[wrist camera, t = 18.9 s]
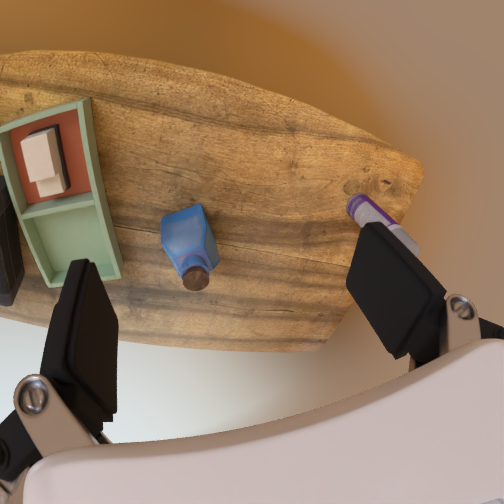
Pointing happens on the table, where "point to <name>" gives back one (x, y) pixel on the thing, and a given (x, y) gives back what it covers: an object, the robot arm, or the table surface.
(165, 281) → the table surface
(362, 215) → the container
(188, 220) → the perfume bottle
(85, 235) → the tray
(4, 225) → the cash box
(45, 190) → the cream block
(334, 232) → the table surface
